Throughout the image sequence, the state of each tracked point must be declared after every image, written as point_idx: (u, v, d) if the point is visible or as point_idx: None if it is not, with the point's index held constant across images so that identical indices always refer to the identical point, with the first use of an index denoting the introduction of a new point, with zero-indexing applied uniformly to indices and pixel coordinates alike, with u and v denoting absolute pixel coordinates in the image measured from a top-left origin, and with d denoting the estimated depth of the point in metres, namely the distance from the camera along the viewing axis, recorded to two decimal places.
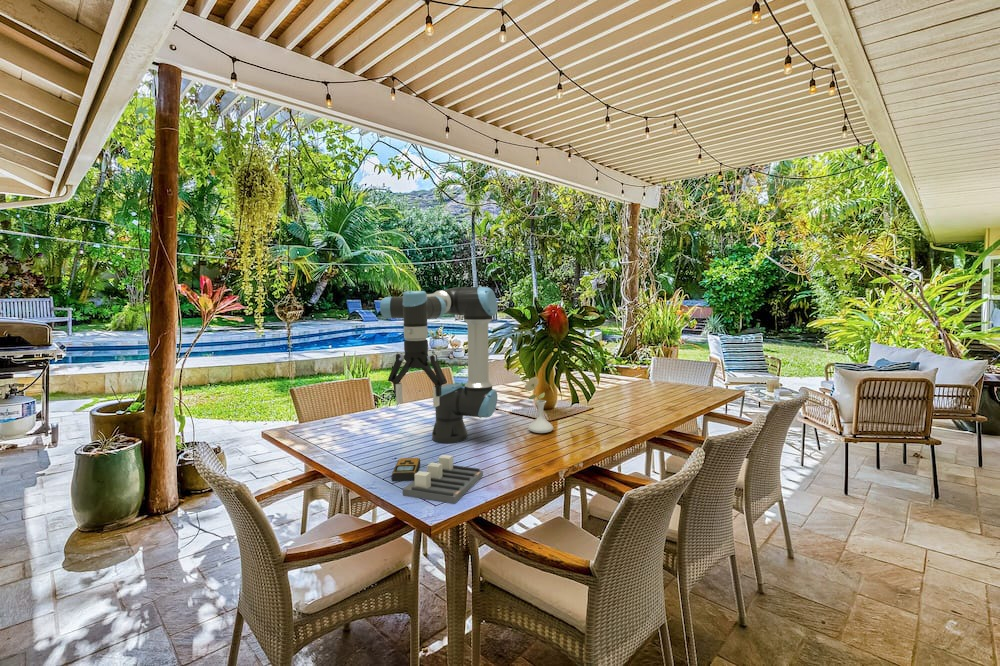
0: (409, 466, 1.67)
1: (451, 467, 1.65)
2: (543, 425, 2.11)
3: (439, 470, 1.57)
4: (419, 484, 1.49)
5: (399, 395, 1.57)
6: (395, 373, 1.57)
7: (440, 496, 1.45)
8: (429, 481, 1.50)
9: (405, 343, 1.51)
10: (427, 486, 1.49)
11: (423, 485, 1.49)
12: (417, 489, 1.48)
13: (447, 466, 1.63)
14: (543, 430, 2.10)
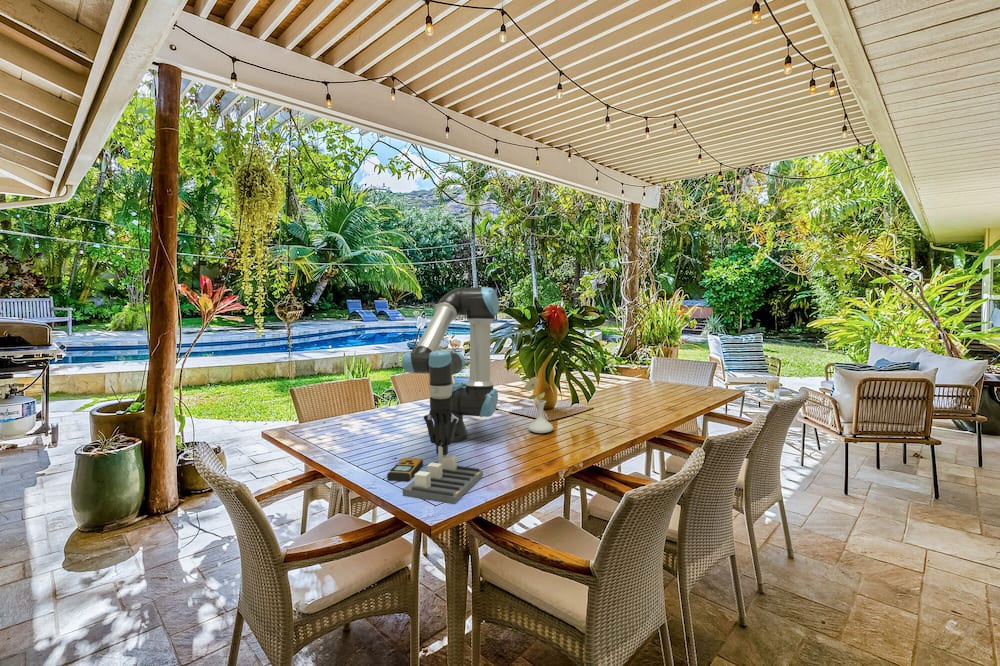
0: (407, 466, 1.67)
1: (455, 467, 1.64)
2: (543, 425, 2.11)
3: (439, 470, 1.57)
4: (419, 484, 1.49)
5: None
6: (433, 433, 1.66)
7: (440, 496, 1.45)
8: (429, 481, 1.50)
9: (431, 401, 1.61)
10: (427, 486, 1.49)
11: (423, 485, 1.49)
12: (417, 489, 1.48)
13: (451, 466, 1.63)
14: (543, 430, 2.10)
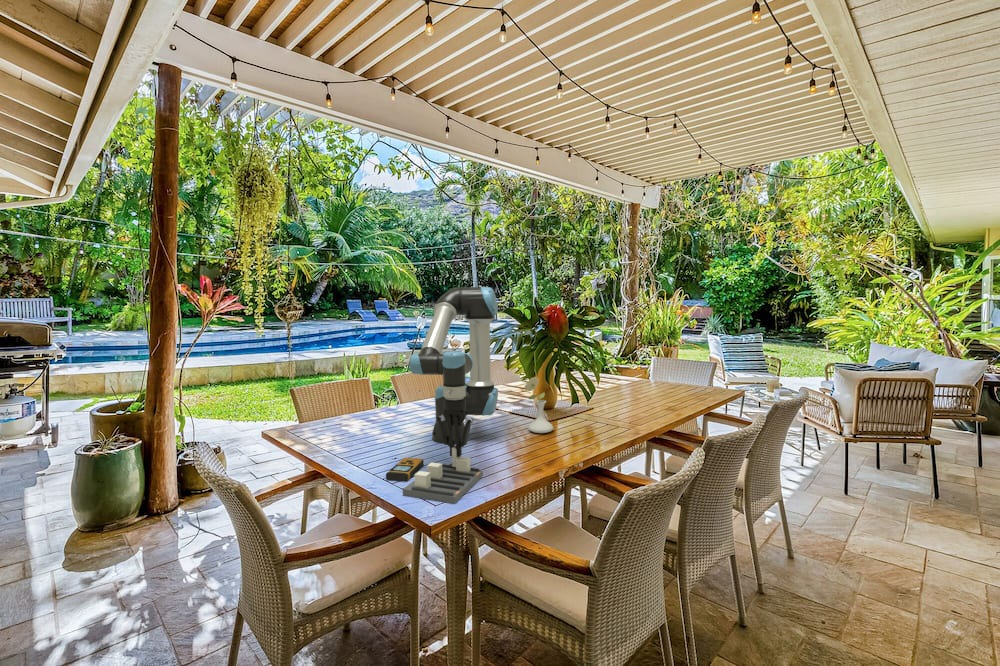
0: (407, 466, 1.67)
1: (469, 469, 1.63)
2: (543, 425, 2.11)
3: (439, 470, 1.57)
4: (419, 484, 1.49)
5: None
6: (446, 434, 1.64)
7: (440, 496, 1.45)
8: (429, 481, 1.50)
9: (445, 402, 1.60)
10: (427, 486, 1.49)
11: (423, 485, 1.49)
12: (417, 489, 1.48)
13: (465, 468, 1.61)
14: (543, 430, 2.10)
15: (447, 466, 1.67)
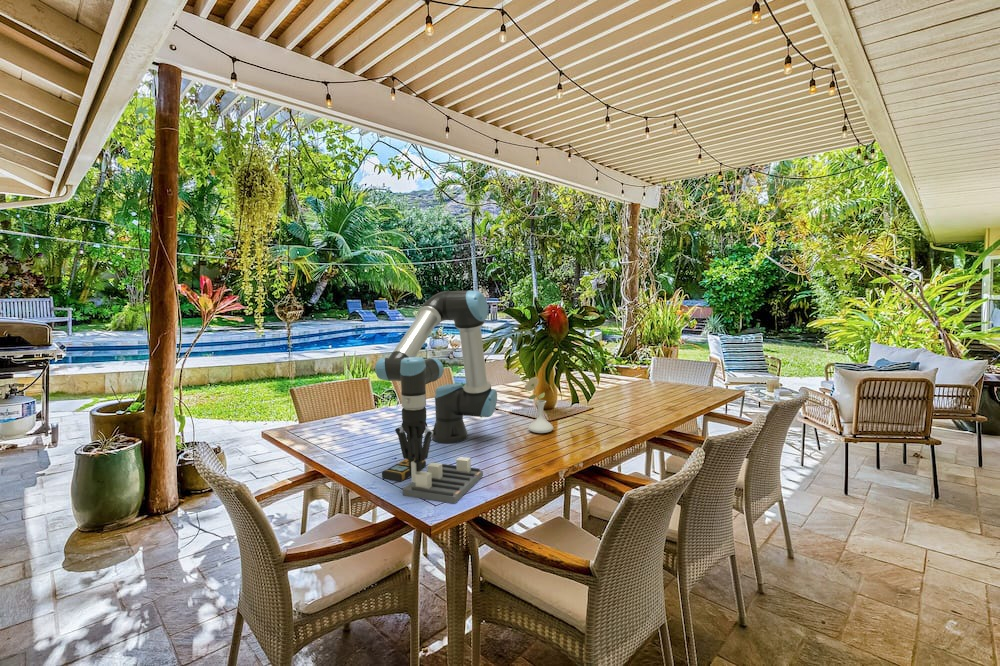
0: (405, 466, 1.67)
1: (469, 469, 1.62)
2: (543, 425, 2.11)
3: (439, 470, 1.57)
4: (420, 485, 1.49)
5: None
6: (406, 447, 1.51)
7: (440, 496, 1.45)
8: (430, 481, 1.50)
9: (403, 412, 1.47)
10: (428, 486, 1.49)
11: (424, 485, 1.48)
12: (417, 489, 1.48)
13: (465, 468, 1.61)
14: (543, 430, 2.10)
15: (447, 466, 1.67)
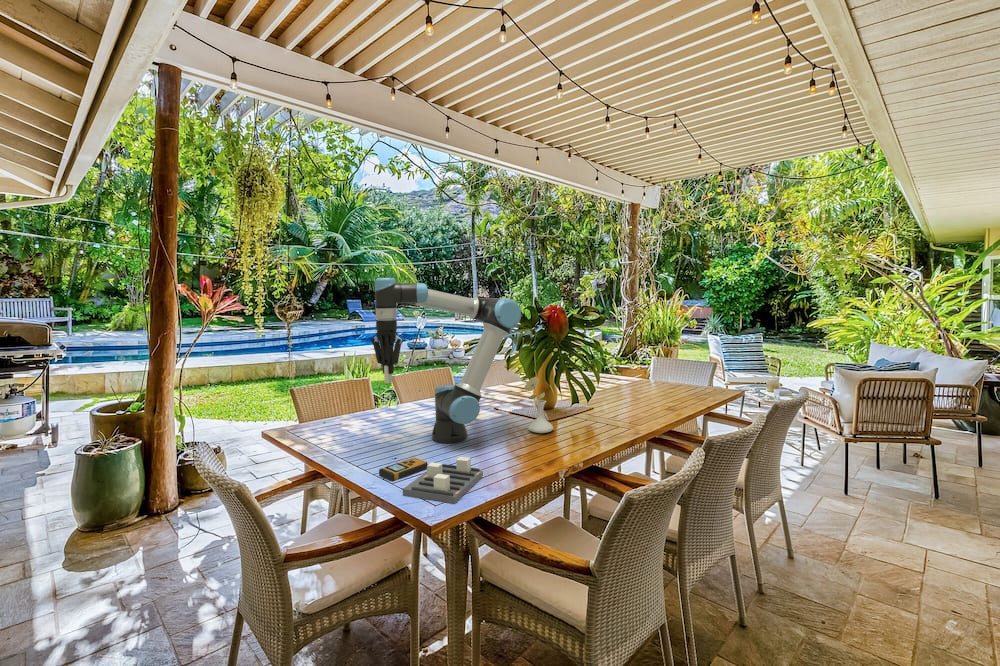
0: (402, 466, 1.67)
1: (469, 469, 1.62)
2: (543, 425, 2.11)
3: (439, 470, 1.57)
4: (439, 487, 1.47)
5: None
6: (380, 354, 1.80)
7: (440, 496, 1.45)
8: (448, 484, 1.48)
9: (377, 322, 1.76)
10: (446, 489, 1.47)
11: (442, 488, 1.46)
12: (417, 489, 1.48)
13: (465, 468, 1.61)
14: (543, 430, 2.10)
15: (447, 466, 1.67)
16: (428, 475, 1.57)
